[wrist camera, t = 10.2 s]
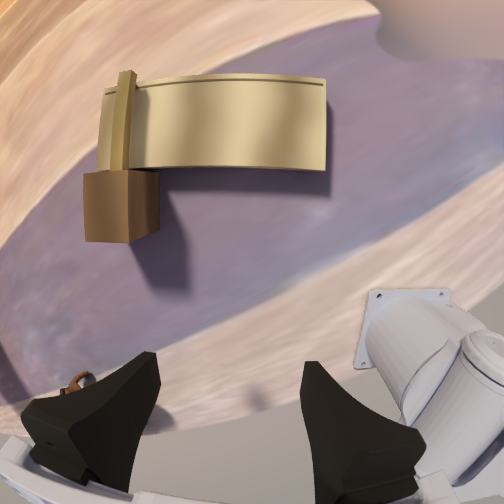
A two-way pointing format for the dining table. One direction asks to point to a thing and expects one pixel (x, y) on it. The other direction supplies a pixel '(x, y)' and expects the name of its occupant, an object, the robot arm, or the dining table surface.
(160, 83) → the board
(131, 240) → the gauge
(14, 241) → the dining table surface
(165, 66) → the dining table surface
